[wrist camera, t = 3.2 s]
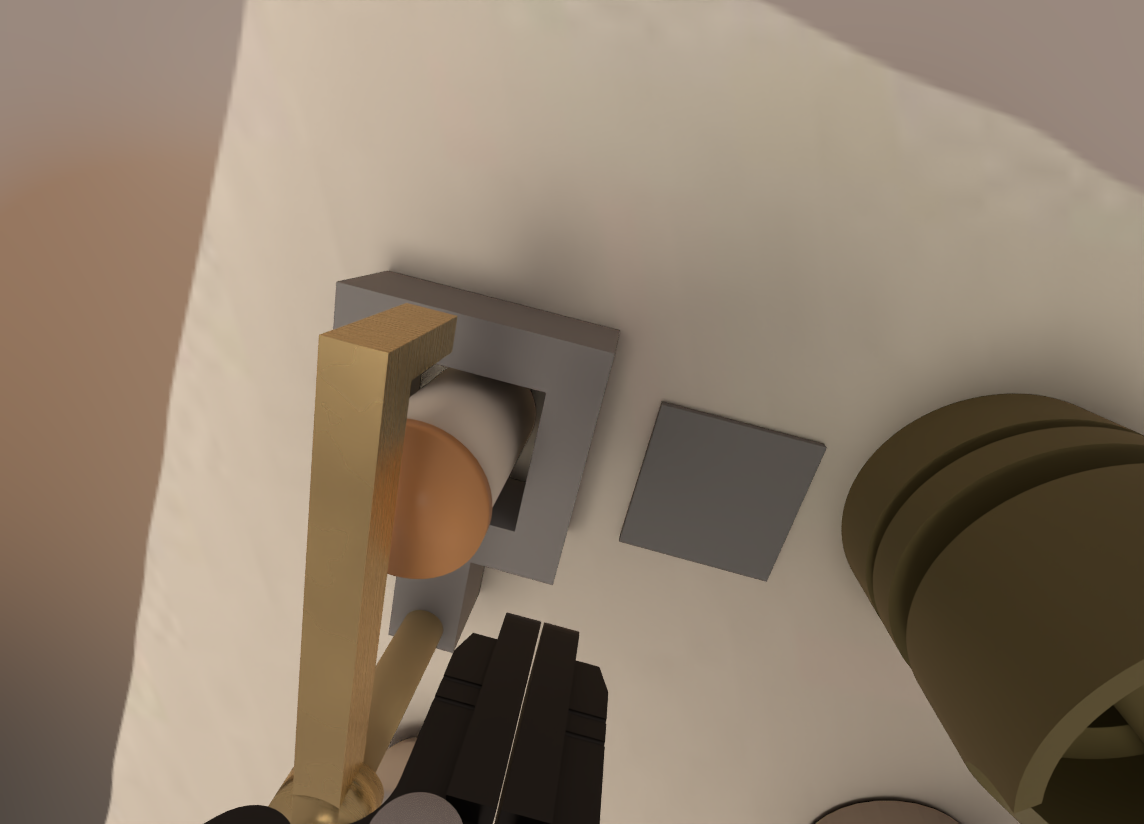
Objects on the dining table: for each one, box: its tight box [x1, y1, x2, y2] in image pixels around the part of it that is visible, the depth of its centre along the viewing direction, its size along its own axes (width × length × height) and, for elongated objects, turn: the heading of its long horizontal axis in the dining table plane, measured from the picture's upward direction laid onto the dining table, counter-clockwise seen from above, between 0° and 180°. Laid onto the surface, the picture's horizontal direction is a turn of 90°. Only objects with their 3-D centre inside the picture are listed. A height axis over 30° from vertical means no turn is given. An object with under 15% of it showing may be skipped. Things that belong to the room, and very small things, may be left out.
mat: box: [619, 402, 827, 582], centre depth 24 cm, size 7×7×1 cm
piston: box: [842, 394, 1144, 824], centre depth 17 cm, size 11×12×11 cm
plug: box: [387, 367, 536, 579], centre depth 20 cm, size 5×5×9 cm
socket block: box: [333, 271, 620, 773], centre depth 20 cm, size 10×15×11 cm, turn 167°
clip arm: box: [268, 303, 458, 824], centre depth 15 cm, size 3×16×4 cm, turn 167°
